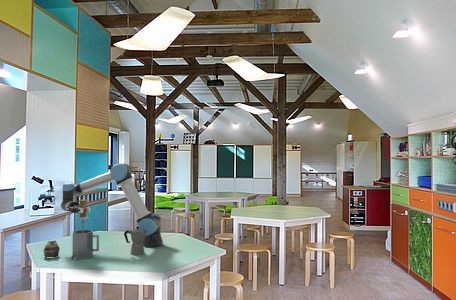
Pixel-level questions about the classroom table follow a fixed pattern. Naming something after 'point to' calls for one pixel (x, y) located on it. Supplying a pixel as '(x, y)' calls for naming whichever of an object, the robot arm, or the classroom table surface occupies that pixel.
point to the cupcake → (51, 249)
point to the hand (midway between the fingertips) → (86, 210)
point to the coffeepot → (136, 241)
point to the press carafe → (83, 244)
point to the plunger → (83, 215)
